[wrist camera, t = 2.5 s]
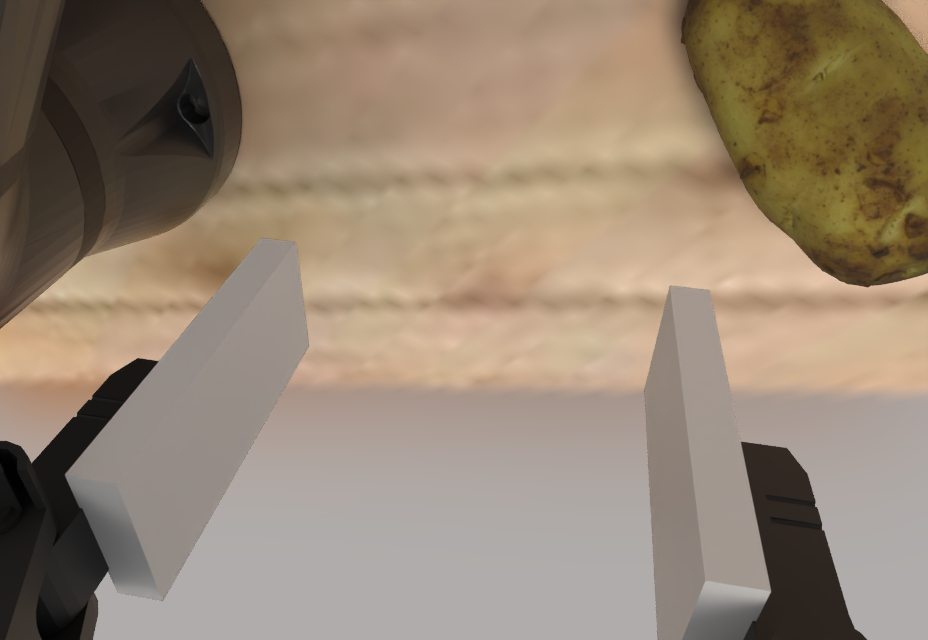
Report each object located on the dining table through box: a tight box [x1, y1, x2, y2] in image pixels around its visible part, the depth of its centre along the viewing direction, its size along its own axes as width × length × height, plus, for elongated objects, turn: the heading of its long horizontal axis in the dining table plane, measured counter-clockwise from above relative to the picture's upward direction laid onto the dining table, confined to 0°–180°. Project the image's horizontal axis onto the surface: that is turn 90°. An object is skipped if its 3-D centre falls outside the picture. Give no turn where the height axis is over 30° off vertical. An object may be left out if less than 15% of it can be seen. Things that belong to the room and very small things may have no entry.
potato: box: [681, 0, 928, 287], centre depth 26 cm, size 8×13×8 cm, turn 27°
